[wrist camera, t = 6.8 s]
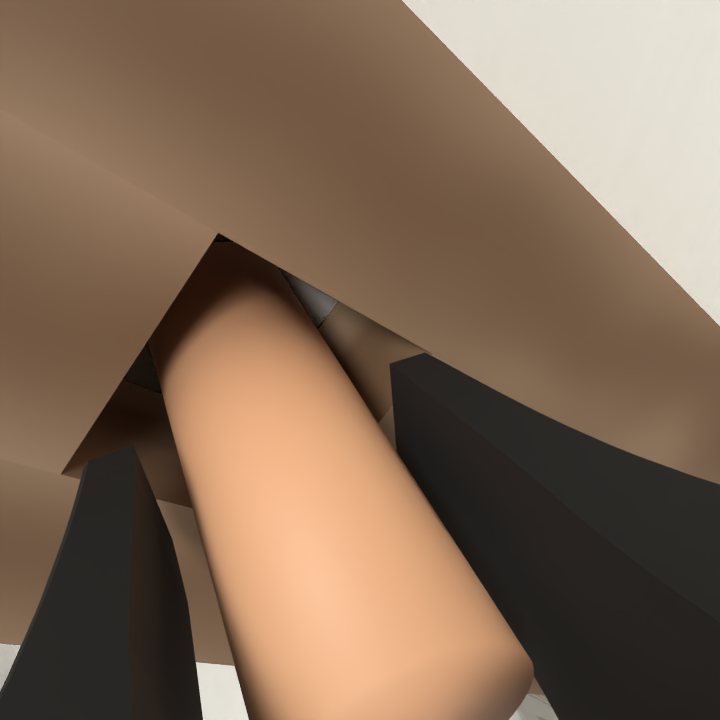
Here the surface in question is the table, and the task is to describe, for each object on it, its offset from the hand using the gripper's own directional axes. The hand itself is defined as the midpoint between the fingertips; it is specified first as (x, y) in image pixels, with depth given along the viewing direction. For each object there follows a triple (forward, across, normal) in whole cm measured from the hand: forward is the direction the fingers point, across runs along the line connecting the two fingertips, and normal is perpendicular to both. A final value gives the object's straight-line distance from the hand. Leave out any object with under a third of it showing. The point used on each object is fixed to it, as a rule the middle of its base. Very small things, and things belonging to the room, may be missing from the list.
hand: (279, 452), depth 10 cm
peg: (+5, 0, 0) cm, 5 cm away
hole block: (+5, -4, +4) cm, 7 cm away
